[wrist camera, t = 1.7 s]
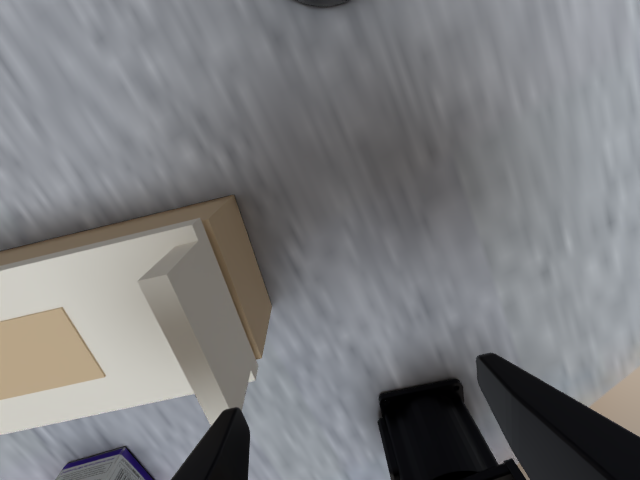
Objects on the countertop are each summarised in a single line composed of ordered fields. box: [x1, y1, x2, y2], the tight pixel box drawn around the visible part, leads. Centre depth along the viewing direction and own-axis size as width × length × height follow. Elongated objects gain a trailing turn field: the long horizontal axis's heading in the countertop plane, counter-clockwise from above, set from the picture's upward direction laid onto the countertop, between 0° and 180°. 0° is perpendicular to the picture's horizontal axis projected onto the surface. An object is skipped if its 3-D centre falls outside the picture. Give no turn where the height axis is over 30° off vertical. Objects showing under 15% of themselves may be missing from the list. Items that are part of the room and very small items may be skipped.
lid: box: [0, 218, 258, 435], centre depth 13 cm, size 16×8×4 cm, turn 103°
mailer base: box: [0, 195, 272, 359], centre depth 18 cm, size 16×8×5 cm, turn 103°
